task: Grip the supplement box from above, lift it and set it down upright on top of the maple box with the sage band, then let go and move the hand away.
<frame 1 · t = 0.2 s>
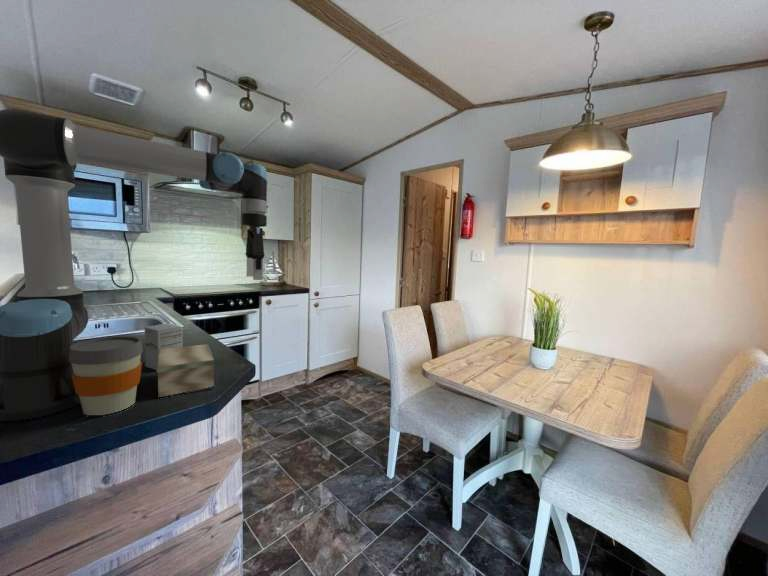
hand: (254, 278, 107), 28 cm above the counter, tool pointing down, fingers open, 13 cm apart
reusable coffee cup: (110, 408, 73), on the counter
maple box: (186, 382, 88), on the counter
supplement box: (164, 366, 99), on the counter
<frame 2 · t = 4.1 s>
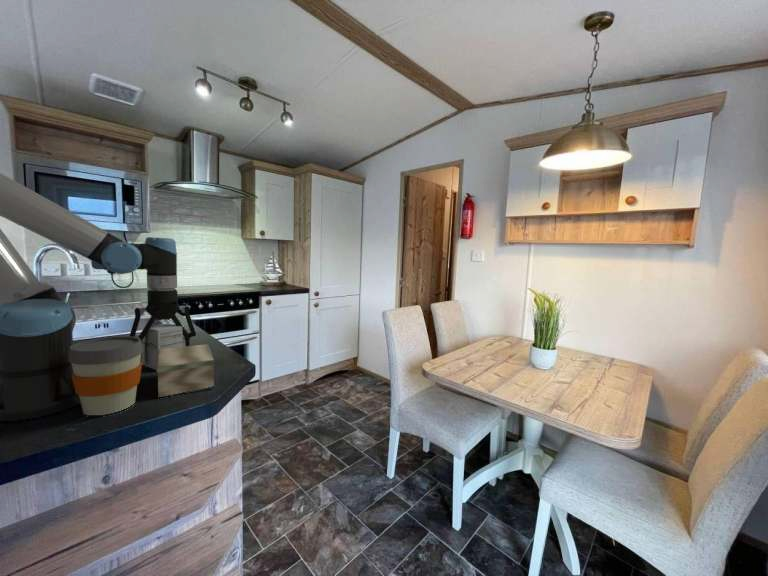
hand: (164, 360, 99), 2 cm above the counter, tool pointing down, fingers closed on supplement box, 10 cm apart
supplement box: (164, 366, 99), on the counter, touching gripper
everything else where it was.
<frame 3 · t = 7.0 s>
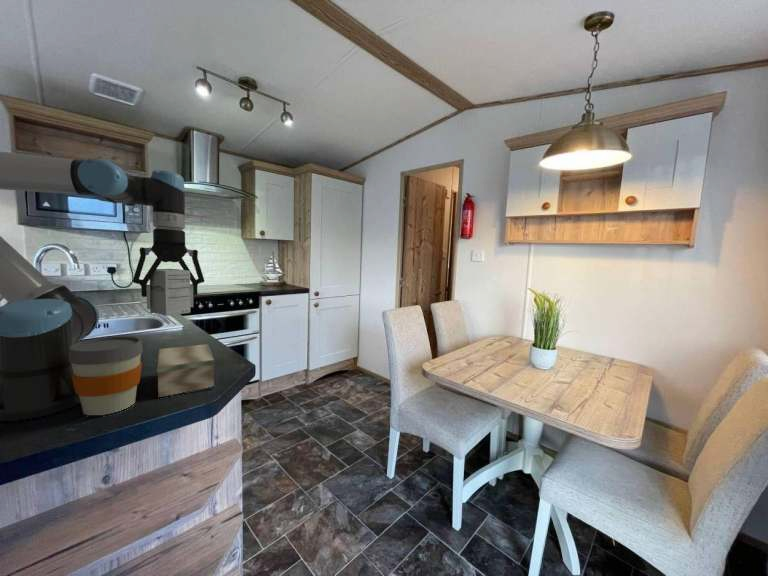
hand: (170, 307, 92), 19 cm above the counter, tool pointing down, fingers closed on supplement box, 10 cm apart
supplement box: (170, 313, 93), point 18 cm above the counter, touching gripper
everything else where it was.
when the fingers open (11 cm above the counter, at t = 10.1 s): supplement box drops 1 cm, resting on maple box.
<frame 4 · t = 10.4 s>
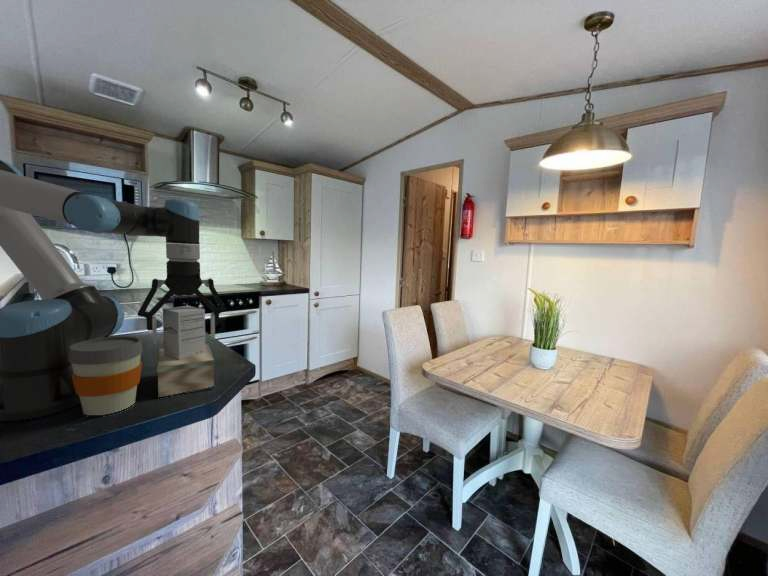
hand: (185, 339, 87), 12 cm above the counter, tool pointing down, fingers open, 13 cm apart
supplement box: (185, 354, 87), point 8 cm above the counter, touching maple box
everything else where it was.
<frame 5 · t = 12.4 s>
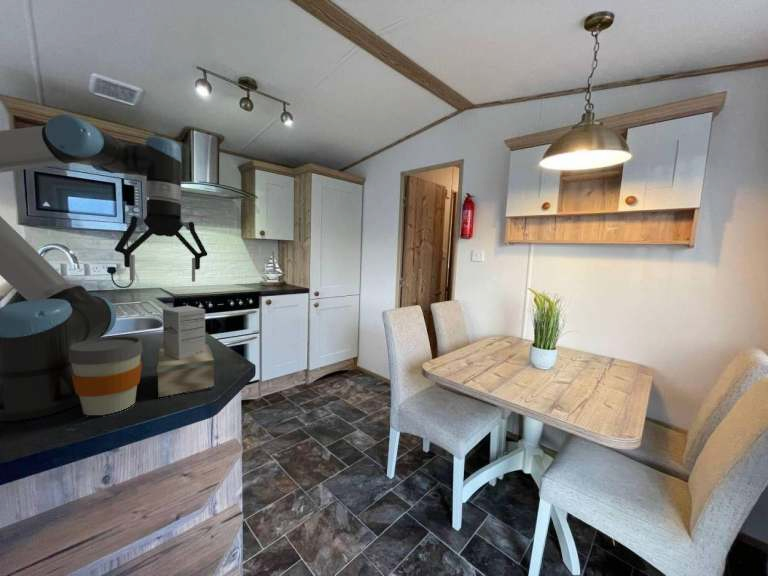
hand: (164, 280, 87), 28 cm above the counter, tool pointing down, fingers open, 13 cm apart
nothing on the counter moved.
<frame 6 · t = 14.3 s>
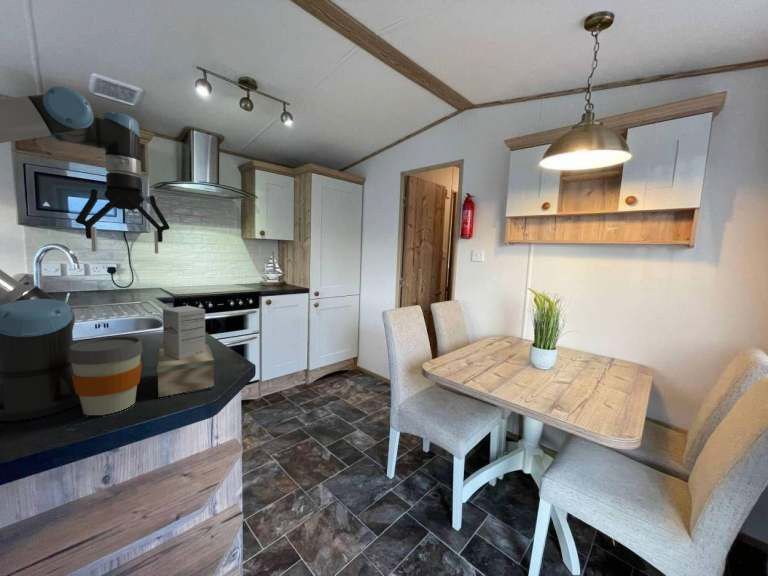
hand: (127, 252, 90), 35 cm above the counter, tool pointing down, fingers open, 13 cm apart
nothing on the counter moved.
at the end: supplement box inside the target area on the maple box (0.1 cm from its centre), point 7.8 cm above the maple box's base; supplement box tilted 0°; the gripper is holding nothing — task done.
